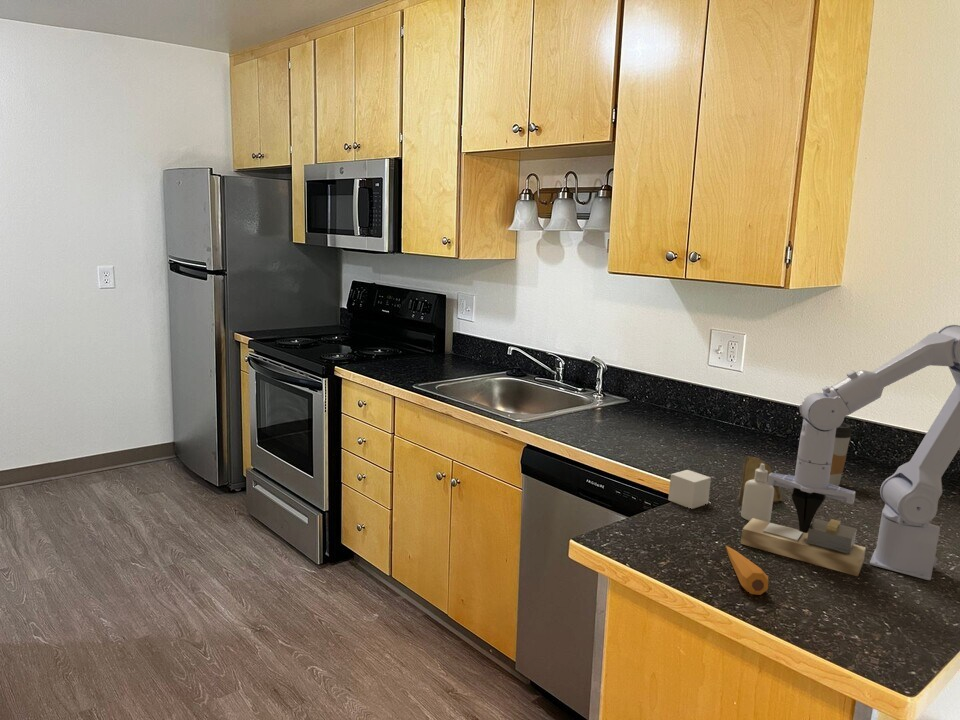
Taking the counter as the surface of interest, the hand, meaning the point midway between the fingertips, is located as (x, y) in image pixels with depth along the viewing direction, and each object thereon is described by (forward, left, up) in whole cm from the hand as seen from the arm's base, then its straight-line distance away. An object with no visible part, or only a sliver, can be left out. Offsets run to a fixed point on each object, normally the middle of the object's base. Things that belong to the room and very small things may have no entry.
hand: (804, 530), depth 136 cm
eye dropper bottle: (+11, -11, -5) cm, 16 cm away
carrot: (+7, +15, -5) cm, 17 cm away
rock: (+13, -23, -5) cm, 27 cm away
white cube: (+25, -12, -5) cm, 28 cm away
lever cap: (-5, 0, -1) cm, 5 cm away
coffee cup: (+4, -47, -5) cm, 47 cm away
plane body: (0, 0, -4) cm, 4 cm away
